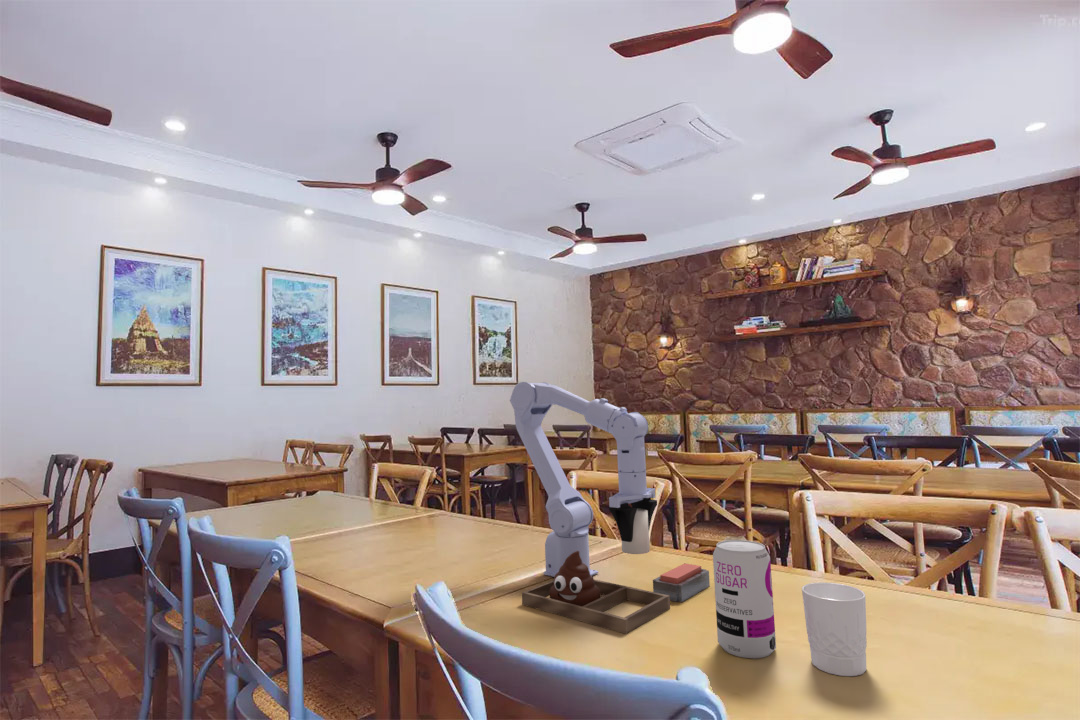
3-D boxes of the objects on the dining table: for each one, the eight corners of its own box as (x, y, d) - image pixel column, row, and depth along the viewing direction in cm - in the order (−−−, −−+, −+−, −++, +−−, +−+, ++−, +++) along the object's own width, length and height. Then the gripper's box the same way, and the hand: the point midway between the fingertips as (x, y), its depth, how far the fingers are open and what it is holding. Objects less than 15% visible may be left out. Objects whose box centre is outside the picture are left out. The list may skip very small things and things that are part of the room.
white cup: (795, 655, 82) (790, 584, 83) (847, 651, 83) (842, 580, 83) (827, 681, 74) (822, 602, 75) (884, 676, 75) (878, 598, 76)
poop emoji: (606, 596, 110) (604, 547, 111) (591, 611, 102) (589, 558, 103) (559, 591, 114) (557, 543, 115) (541, 605, 106) (539, 554, 107)
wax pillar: (616, 551, 116) (614, 511, 117) (631, 545, 120) (629, 507, 121) (640, 555, 112) (638, 514, 113) (654, 549, 117) (652, 509, 117)
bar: (660, 591, 109) (660, 575, 109) (685, 578, 116) (684, 563, 117) (678, 594, 107) (677, 578, 107) (702, 581, 114) (701, 566, 114)
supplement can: (774, 640, 87) (767, 540, 89) (778, 663, 80) (770, 553, 81) (719, 634, 90) (713, 538, 91) (717, 657, 82) (711, 551, 83)
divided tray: (522, 604, 107) (521, 592, 107) (570, 584, 118) (569, 574, 118) (626, 633, 92) (625, 619, 92) (670, 608, 102) (669, 595, 102)
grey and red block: (652, 596, 109) (651, 580, 109) (683, 580, 118) (682, 565, 118) (681, 602, 105) (680, 586, 105) (710, 585, 114) (709, 570, 114)
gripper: (629, 476, 110) (632, 548, 109) (666, 468, 121) (670, 533, 119) (599, 474, 114) (602, 543, 113) (638, 466, 125) (641, 529, 124)
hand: (635, 538), depth 117 cm, fingers closed on wax pillar, 6 cm apart
